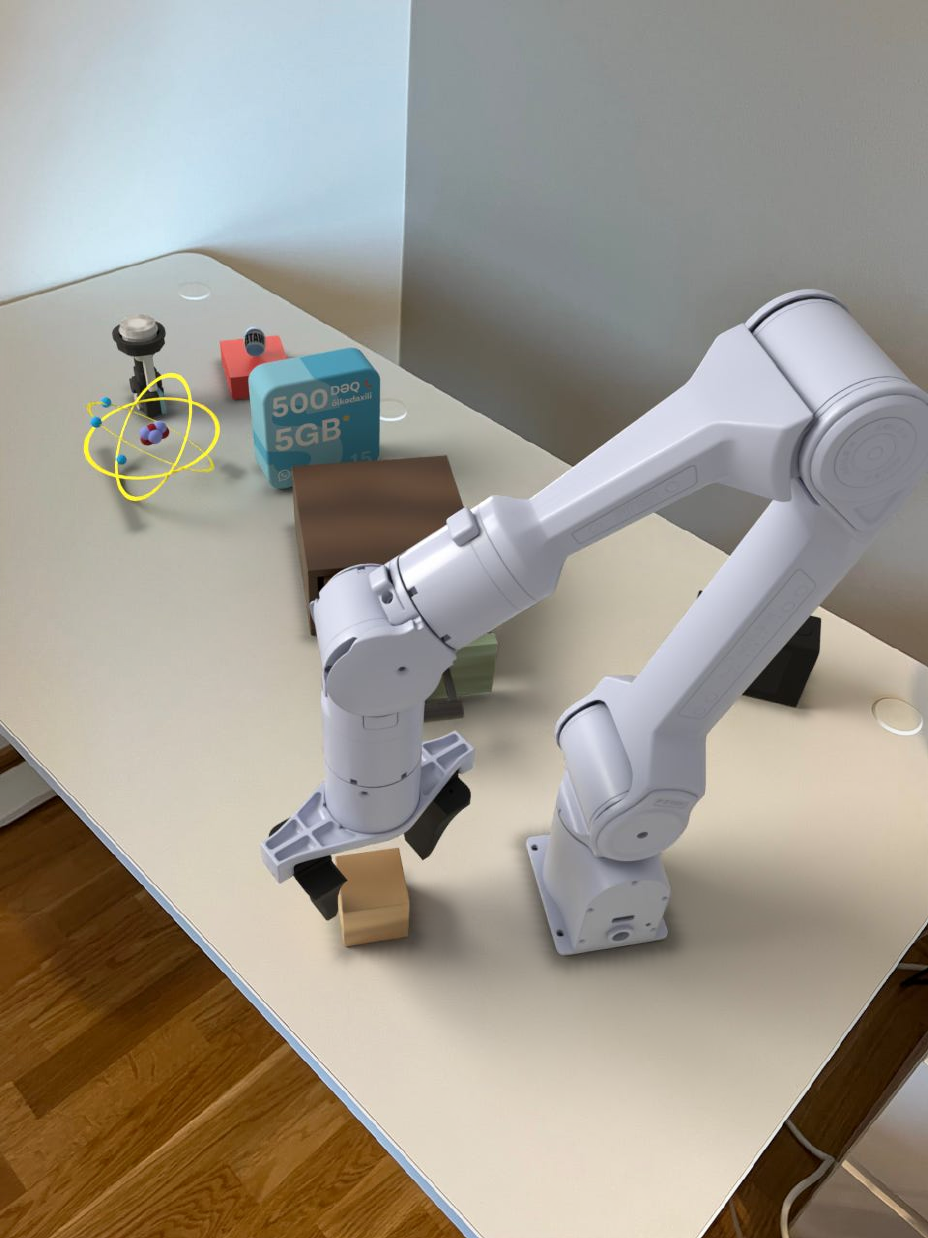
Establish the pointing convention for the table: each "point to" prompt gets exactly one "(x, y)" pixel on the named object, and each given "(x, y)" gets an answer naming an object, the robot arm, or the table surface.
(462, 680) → the drawer
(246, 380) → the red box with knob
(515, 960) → the table surface
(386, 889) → the block
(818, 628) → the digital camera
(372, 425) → the data package
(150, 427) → the atom model
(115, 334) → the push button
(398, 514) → the cabinet
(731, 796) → the table surface
